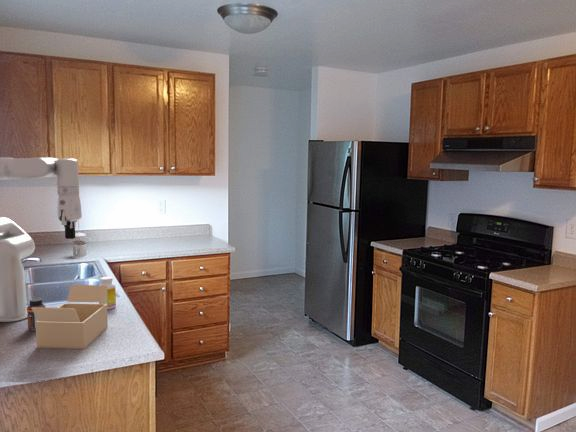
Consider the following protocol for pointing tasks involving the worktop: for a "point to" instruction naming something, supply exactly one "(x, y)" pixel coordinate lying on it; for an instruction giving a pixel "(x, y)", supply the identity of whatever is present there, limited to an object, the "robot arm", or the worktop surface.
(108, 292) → the supplement bottle
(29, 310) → the supplement bottle
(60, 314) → the front flap
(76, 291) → the back flap
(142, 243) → the worktop surface
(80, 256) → the french press
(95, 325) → the carton
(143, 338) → the worktop surface
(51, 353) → the worktop surface
